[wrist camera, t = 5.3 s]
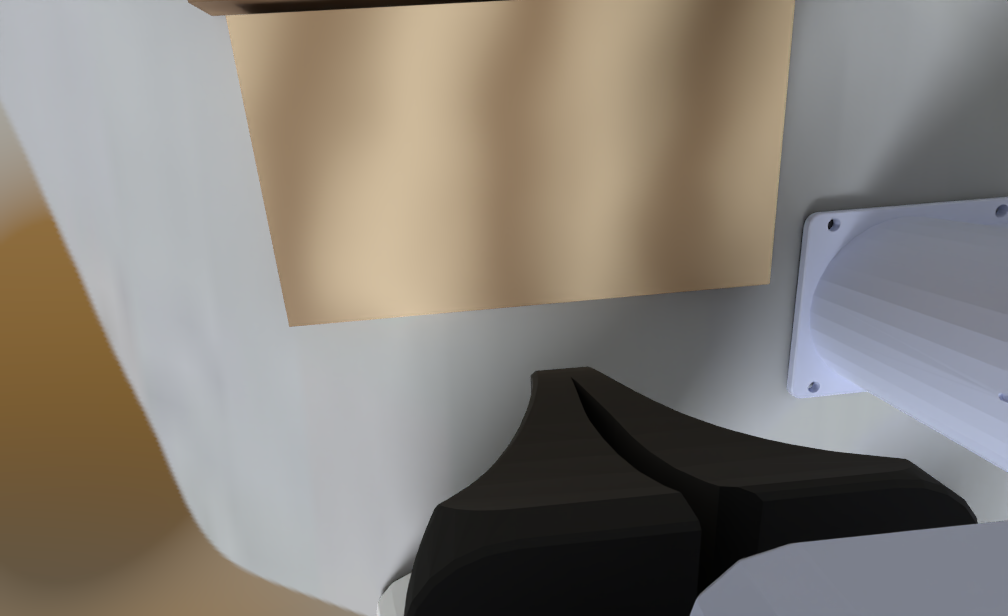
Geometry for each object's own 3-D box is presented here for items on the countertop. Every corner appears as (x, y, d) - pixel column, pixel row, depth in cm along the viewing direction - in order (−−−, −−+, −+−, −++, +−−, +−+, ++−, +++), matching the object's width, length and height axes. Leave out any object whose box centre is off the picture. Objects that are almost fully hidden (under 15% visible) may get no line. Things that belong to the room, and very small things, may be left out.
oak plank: (769, -2, 18) (796, -15, 16) (747, 275, 21) (769, 283, 19) (245, 27, 17) (225, 15, 15) (301, 314, 20) (289, 326, 18)
